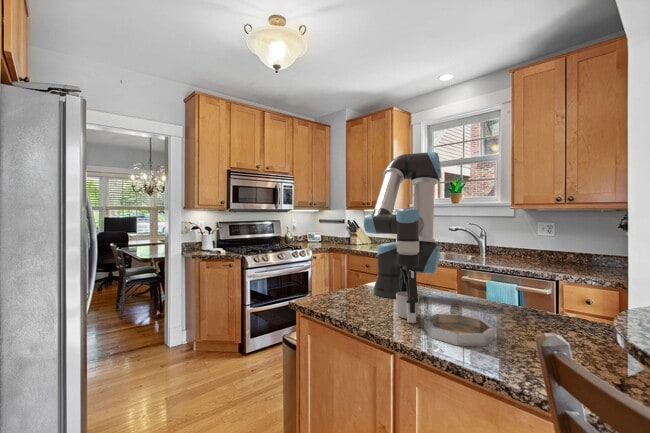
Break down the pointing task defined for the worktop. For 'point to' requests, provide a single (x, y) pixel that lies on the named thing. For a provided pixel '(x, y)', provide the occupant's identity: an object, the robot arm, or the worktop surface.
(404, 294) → the cup
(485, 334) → the octagonal tray
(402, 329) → the worktop surface
